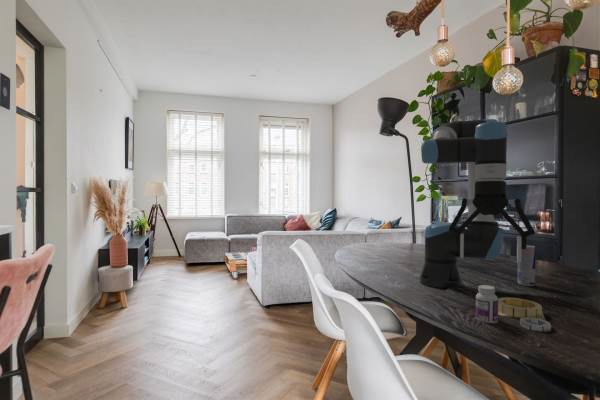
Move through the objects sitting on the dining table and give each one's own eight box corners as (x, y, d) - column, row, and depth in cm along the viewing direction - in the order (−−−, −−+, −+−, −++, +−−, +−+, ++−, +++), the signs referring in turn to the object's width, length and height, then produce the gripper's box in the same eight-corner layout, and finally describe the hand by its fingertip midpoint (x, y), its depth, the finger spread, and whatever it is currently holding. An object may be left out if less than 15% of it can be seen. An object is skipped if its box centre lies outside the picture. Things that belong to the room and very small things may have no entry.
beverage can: (537, 287, 131) (538, 247, 131) (521, 286, 132) (521, 246, 132) (531, 283, 137) (531, 244, 136) (515, 282, 138) (515, 244, 137)
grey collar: (521, 331, 89) (521, 323, 89) (519, 323, 95) (519, 315, 95) (552, 336, 86) (552, 328, 86) (548, 327, 92) (548, 320, 92)
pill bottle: (490, 318, 98) (491, 284, 98) (502, 325, 93) (502, 289, 93) (471, 318, 98) (472, 284, 98) (482, 326, 93) (482, 289, 93)
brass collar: (496, 314, 99) (496, 305, 99) (496, 303, 109) (496, 295, 109) (544, 321, 94) (544, 311, 94) (538, 309, 104) (539, 300, 104)
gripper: (439, 180, 98) (438, 257, 98) (548, 179, 86) (547, 266, 86) (442, 181, 104) (441, 253, 105) (543, 180, 93) (542, 260, 93)
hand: (489, 259), depth 96 cm, fingers open, 13 cm apart
